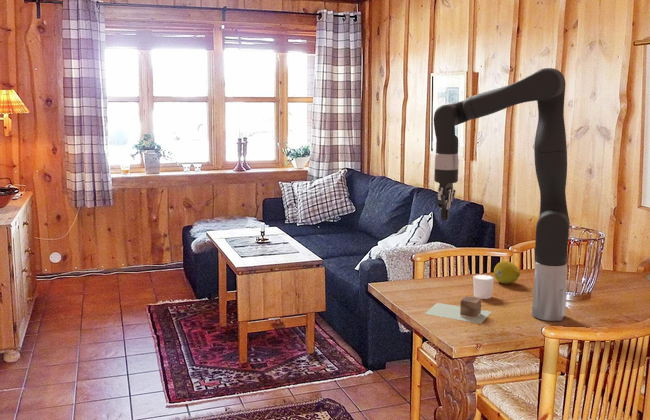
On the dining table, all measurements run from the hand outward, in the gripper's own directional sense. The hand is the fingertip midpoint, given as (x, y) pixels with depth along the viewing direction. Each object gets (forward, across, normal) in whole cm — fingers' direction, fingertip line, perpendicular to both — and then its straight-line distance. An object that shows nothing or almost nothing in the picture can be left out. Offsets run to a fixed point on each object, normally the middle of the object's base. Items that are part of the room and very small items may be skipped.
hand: (444, 220), depth 220 cm
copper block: (+22, -11, -13) cm, 28 cm away
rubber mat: (+27, -11, -9) cm, 31 cm away
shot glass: (+27, +9, -11) cm, 31 cm away
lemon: (+27, +28, -14) cm, 41 cm away
